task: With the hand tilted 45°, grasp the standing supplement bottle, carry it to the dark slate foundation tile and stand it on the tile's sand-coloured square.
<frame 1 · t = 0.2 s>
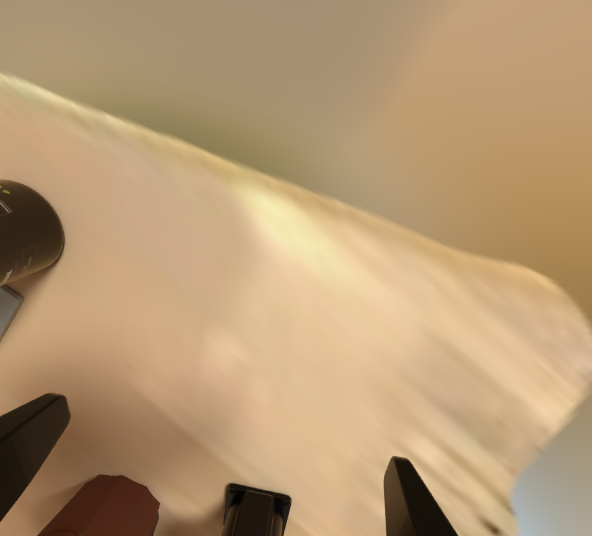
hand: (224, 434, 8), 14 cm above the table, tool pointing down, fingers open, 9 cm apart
supplement bottle: (27, 224, 23), on the table
muffin: (123, 499, 34), on the table
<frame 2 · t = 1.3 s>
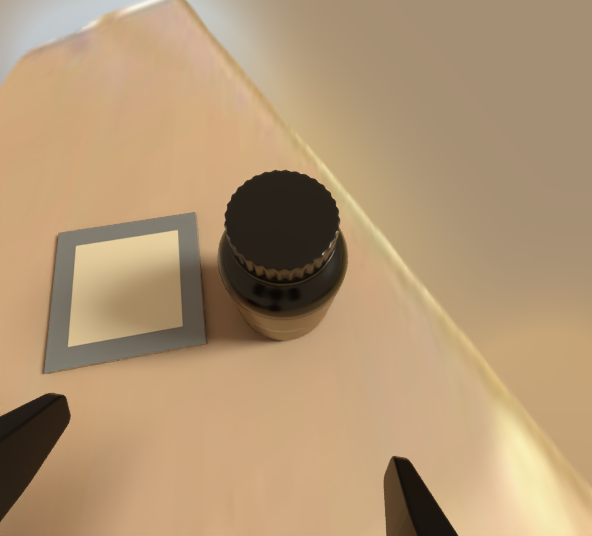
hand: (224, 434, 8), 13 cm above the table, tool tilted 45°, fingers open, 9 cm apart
foundation tile: (129, 286, 24), on the table
supplement bottle: (285, 297, 24), on the table
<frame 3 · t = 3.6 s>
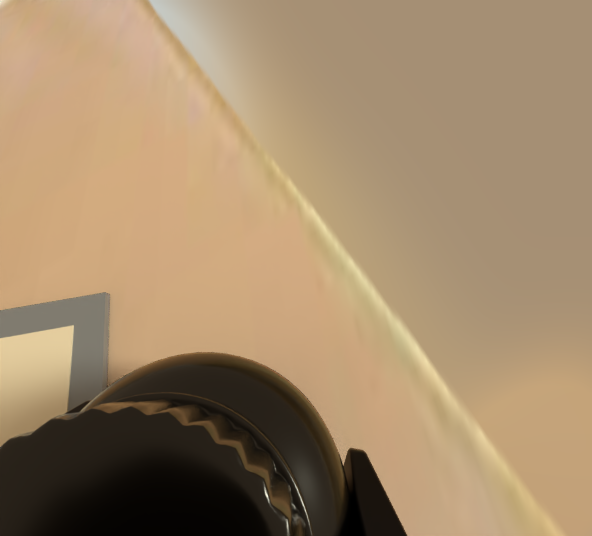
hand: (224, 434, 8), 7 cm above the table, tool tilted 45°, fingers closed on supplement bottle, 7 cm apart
supplement bottle: (245, 447, 14), on the table, touching gripper
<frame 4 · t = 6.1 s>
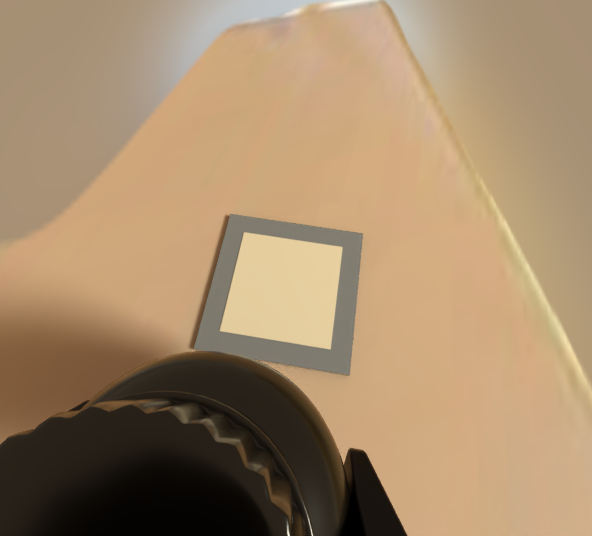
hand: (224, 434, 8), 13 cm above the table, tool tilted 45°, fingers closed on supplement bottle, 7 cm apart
foundation tile: (284, 288, 23), on the table
supplement bottle: (245, 446, 14), point 6 cm above the table, touching gripper
when the fingers open (8 cm above the table, at t = 8.6 s): supplement bottle stays where it is, resting on foundation tile.
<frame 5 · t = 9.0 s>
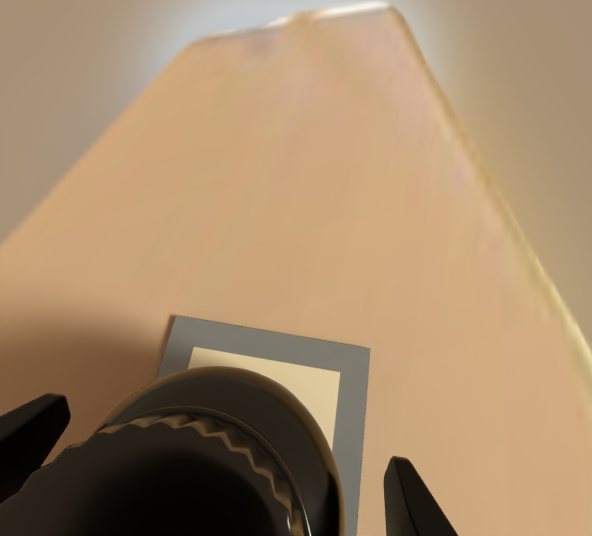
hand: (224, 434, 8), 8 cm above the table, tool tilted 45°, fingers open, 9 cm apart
foundation tile: (251, 441, 15), on the table
supplement bottle: (248, 448, 15), resting on foundation tile
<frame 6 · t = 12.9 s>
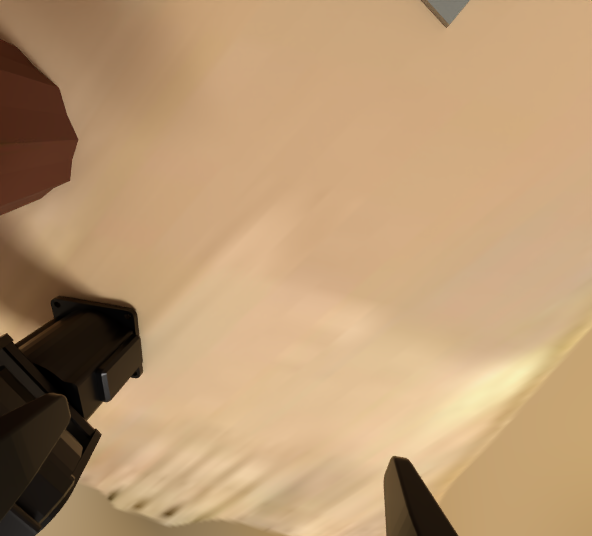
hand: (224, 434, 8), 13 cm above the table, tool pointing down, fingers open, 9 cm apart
muffin: (11, 124, 19), on the table
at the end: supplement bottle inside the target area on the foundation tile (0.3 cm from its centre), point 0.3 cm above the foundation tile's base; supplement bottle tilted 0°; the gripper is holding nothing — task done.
